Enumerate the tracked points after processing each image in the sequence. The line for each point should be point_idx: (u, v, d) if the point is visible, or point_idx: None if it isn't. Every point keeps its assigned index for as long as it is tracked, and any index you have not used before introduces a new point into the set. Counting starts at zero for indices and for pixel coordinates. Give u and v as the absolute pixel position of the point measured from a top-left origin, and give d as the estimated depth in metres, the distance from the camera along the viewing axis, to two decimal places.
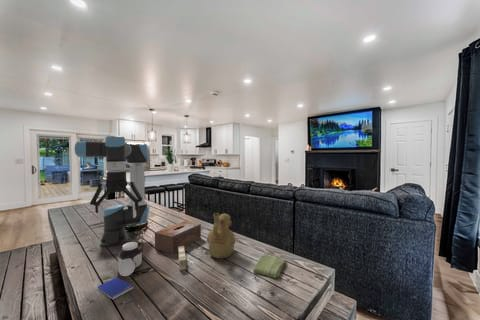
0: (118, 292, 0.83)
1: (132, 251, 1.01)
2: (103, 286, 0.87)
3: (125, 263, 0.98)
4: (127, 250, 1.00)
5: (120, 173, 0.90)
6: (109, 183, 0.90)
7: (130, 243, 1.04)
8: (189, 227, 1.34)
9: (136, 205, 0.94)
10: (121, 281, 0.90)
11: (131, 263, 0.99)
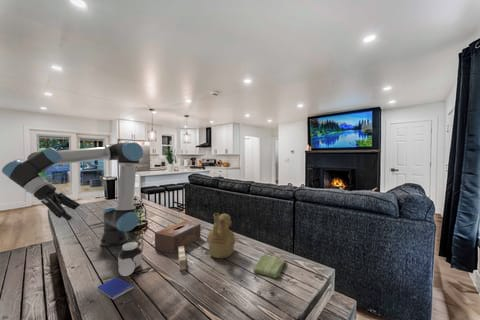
0: (118, 292, 0.83)
1: (132, 250, 1.01)
2: (103, 286, 0.87)
3: (125, 263, 0.98)
4: (127, 250, 1.00)
5: (34, 195, 0.91)
6: None
7: (130, 243, 1.04)
8: (189, 227, 1.34)
9: None
10: (121, 281, 0.90)
11: (131, 263, 0.99)
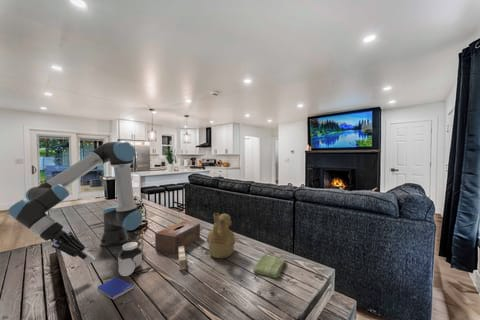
0: (118, 292, 0.83)
1: (132, 251, 1.01)
2: (103, 286, 0.87)
3: (125, 263, 0.98)
4: (127, 250, 1.00)
5: (40, 236, 0.88)
6: None
7: (130, 243, 1.04)
8: (189, 227, 1.34)
9: None
10: (121, 281, 0.90)
11: (131, 263, 0.99)
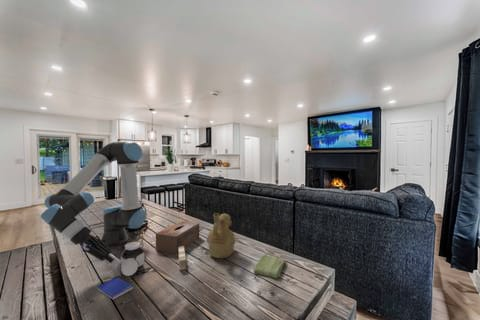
0: (118, 292, 0.83)
1: (135, 250, 1.01)
2: (103, 286, 0.87)
3: (128, 263, 0.98)
4: (129, 250, 1.00)
5: (71, 240, 0.91)
6: None
7: (133, 243, 1.05)
8: (189, 227, 1.35)
9: None
10: (121, 281, 0.90)
11: (134, 262, 0.99)
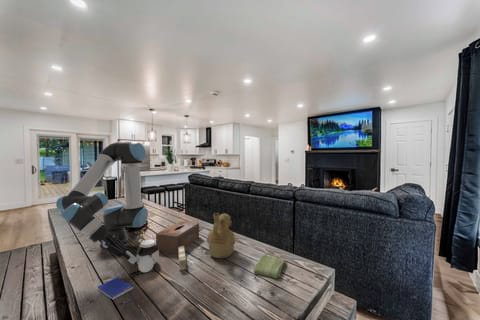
0: (118, 292, 0.83)
1: (150, 248, 1.04)
2: (103, 286, 0.87)
3: (144, 260, 1.01)
4: (145, 247, 1.03)
5: (90, 238, 0.93)
6: None
7: (147, 240, 1.07)
8: (189, 226, 1.35)
9: None
10: (121, 281, 0.90)
11: (150, 259, 1.02)
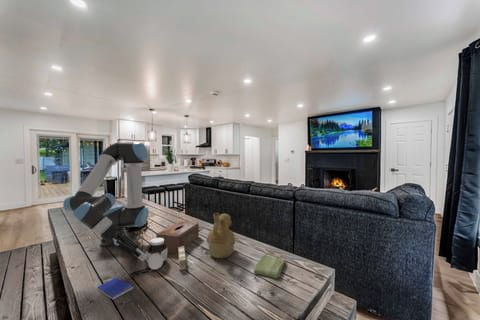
0: (118, 292, 0.83)
1: (160, 245, 1.06)
2: (103, 286, 0.87)
3: (154, 257, 1.03)
4: (155, 245, 1.05)
5: (101, 236, 0.95)
6: None
7: (157, 238, 1.10)
8: (189, 226, 1.35)
9: None
10: (121, 281, 0.90)
11: (159, 257, 1.04)
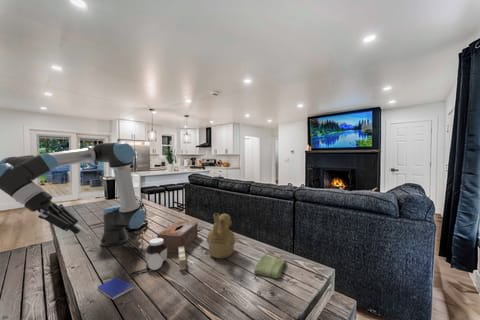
0: (118, 292, 0.83)
1: (159, 246, 1.06)
2: (103, 286, 0.87)
3: (153, 258, 1.03)
4: (154, 245, 1.05)
5: (25, 206, 0.76)
6: None
7: (156, 239, 1.10)
8: (189, 226, 1.36)
9: None
10: (121, 281, 0.90)
11: (159, 257, 1.04)
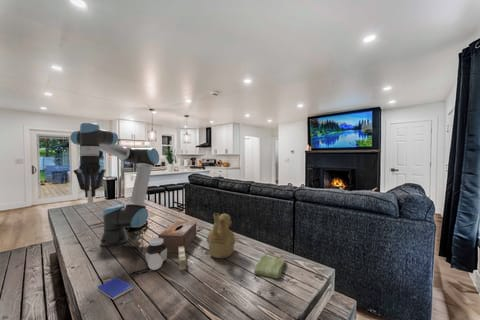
0: (118, 292, 0.83)
1: (159, 246, 1.06)
2: (103, 286, 0.87)
3: (153, 258, 1.03)
4: (154, 245, 1.05)
5: (93, 157, 0.99)
6: (81, 165, 0.99)
7: (156, 239, 1.10)
8: (189, 226, 1.36)
9: (93, 192, 1.01)
10: (121, 281, 0.90)
11: (159, 257, 1.04)
